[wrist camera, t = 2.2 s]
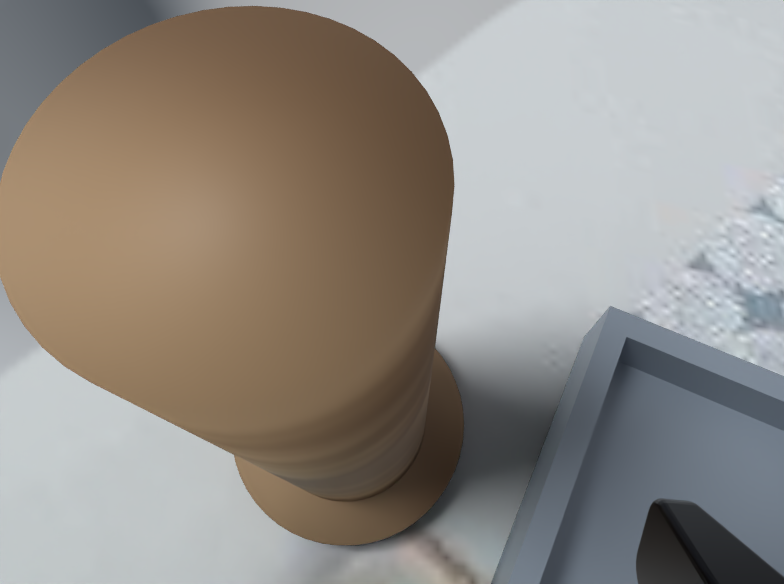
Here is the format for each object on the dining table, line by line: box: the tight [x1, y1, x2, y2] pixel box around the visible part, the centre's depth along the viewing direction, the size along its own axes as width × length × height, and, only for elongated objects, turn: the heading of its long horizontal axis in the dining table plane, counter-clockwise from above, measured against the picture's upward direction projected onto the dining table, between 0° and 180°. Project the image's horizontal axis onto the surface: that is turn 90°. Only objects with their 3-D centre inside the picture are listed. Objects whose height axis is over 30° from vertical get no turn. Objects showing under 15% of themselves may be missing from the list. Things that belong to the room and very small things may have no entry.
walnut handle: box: [0, 6, 464, 545], centre depth 11 cm, size 6×6×12 cm
